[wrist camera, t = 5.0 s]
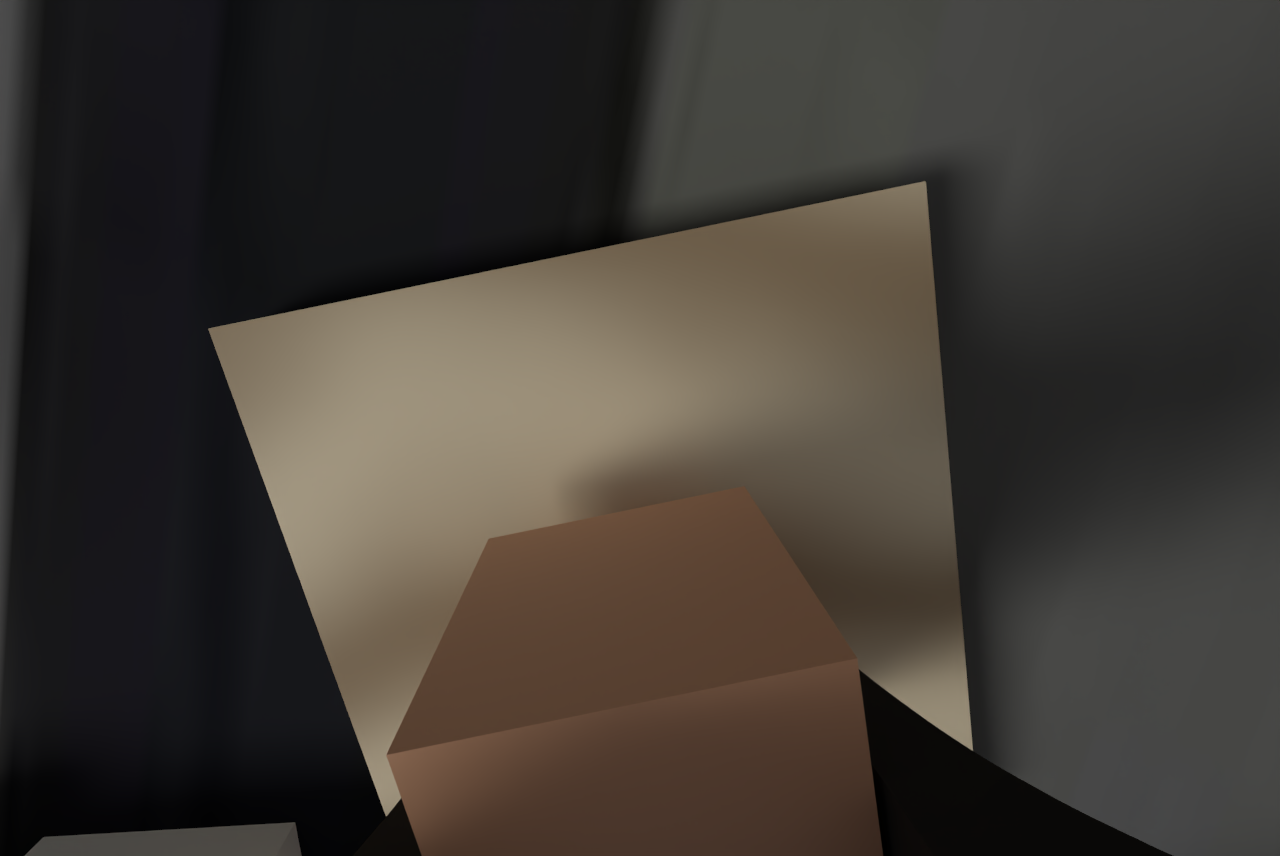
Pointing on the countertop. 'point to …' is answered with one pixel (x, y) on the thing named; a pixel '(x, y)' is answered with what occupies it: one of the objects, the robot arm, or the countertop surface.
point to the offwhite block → (179, 842)
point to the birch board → (620, 433)
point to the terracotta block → (640, 698)
